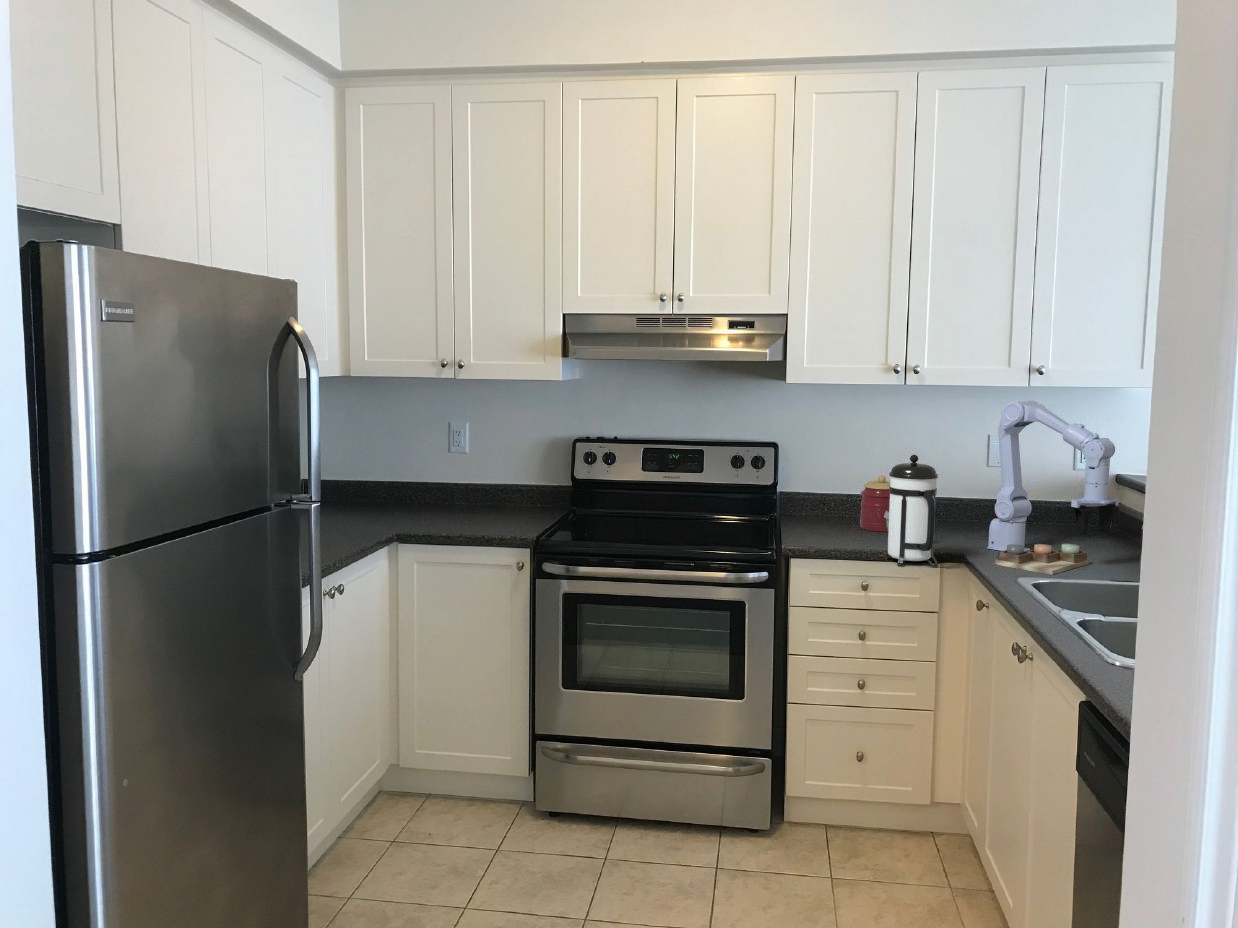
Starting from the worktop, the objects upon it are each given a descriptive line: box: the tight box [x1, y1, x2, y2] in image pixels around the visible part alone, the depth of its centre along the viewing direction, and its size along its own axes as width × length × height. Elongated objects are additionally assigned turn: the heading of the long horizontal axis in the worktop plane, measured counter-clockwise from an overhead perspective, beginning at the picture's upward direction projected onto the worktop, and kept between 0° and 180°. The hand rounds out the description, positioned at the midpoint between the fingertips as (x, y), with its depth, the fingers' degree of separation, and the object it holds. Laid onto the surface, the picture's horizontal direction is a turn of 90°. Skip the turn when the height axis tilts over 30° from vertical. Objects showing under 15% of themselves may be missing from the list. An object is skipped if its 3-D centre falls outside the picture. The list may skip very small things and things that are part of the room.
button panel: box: [994, 548, 1090, 576], centre depth 266 cm, size 16×21×3 cm
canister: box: [859, 475, 891, 533], centre depth 318 cm, size 13×13×18 cm
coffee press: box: [883, 454, 939, 568], centre depth 265 cm, size 17×16×30 cm
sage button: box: [1060, 543, 1080, 554], centre depth 267 cm, size 4×4×3 cm
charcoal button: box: [1007, 544, 1025, 555], centre depth 266 cm, size 4×4×3 cm
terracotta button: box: [1033, 543, 1053, 555], centre depth 266 cm, size 4×4×3 cm
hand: (1093, 532), depth 264 cm, fingers open, 7 cm apart
